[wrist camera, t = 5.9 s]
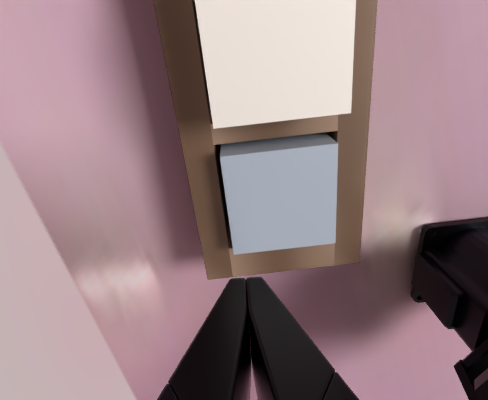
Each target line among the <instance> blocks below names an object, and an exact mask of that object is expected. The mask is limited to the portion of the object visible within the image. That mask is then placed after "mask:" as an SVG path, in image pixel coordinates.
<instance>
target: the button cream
mask: <svg viewBox="0 0 488 400" xmlns="http://www.w3.org/2000/svg"><path fill="white" fill-rule="evenodd" d="M195 5H196V12H197V19H198V26H199V33H200V40H201V46H202V53H203V60H204V67H205V74H206V81H207V88H208V95H209V102H210V108H211V115H212V122H213V129H216V128H225V127H234V126H242V125H251V124H260V123H269V122H278V121H286V120H295V119H304V118H313V117H321V116H330V115H339V114H348V113H351V105H352V82H353V59H354V35H355V12H356V0H195Z"/></svg>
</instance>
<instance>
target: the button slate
mask: <svg viewBox="0 0 488 400" xmlns="http://www.w3.org/2000/svg"><path fill="white" fill-rule="evenodd" d="M220 161H221V168H222V175H223V182H224V189H225V196H226V203H227V210H228V217H229V225H230V232H231V239H232V246H233V253H234V255H236V254H245V253H254V252H262V251H271V250H280V249H289V248H298V247H307V246H315V245H324V244H333V243H336V208H337V171H338V143H337V142H336V141H335V140H334V139H332V138H331V137H330V136H329V135H328V134H326V133H325V132H322V133H314V134H305V135H296V136H287V137H279V138H270V139H261V140H252V141H243V142H235V143H226V144H221V149H220Z"/></svg>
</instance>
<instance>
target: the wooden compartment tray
mask: <svg viewBox="0 0 488 400" xmlns="http://www.w3.org/2000/svg"><path fill="white" fill-rule="evenodd" d="M154 5H155V10H156V15H157V20H158V26H159V31H160V36H161V41H162V46H163V51H164V57H165V62H166V67H167V72H168V77H169V82H170V88H171V93H172V98H173V103H174V108H175V113H176V119H177V124H178V129H179V134H180V139H181V144H182V150H183V155H184V160H185V165H186V170H187V175H188V181H189V186H190V191H191V196H192V201H193V206H194V212H195V217H196V222H197V227H198V232H199V237H200V243H201V248H202V253H203V258H204V263H205V268H206V274H207V279H208V280H210V279H219V278H228V277H237V276H246V275H255V274H263V273H272V272H281V271H290V270H299V269H308V268H316V267H325V266H334V265H343V264H352V263H359V262H360V248H361V233H362V219H363V204H364V189H365V175H366V160H367V145H368V131H369V116H370V101H371V87H372V72H373V58H374V43H375V28H376V14H377V0H356V12H355V35H354V59H353V82H352V105H351V113H348V114H339V115H330V116H321V117H313V118H304V119H295V120H286V121H278V122H269V123H260V124H251V125H242V126H234V127H225V128H216V129H213V122H212V115H211V108H210V102H209V95H208V88H207V81H206V74H205V67H204V60H203V53H202V46H201V40H200V33H199V26H198V19H197V12H196V5H195V0H154ZM322 132H325V133H326V134H328V135H329V136H330V137H331V138H332V139H334V140H335V141H336V142H337V143H338V171H337V208H336V243H333V244H324V245H315V246H307V247H298V248H289V249H280V250H271V251H262V252H254V253H245V254H236V255H234V253H233V246H232V239H231V232H230V225H229V221H228V214H227V207H226V200H225V193H224V186H223V179H222V172H221V165H220V158H219V151H218V144H226V143H235V142H243V141H252V140H261V139H270V138H279V137H287V136H296V135H305V134H314V133H322Z"/></svg>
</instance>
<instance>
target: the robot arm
mask: <svg viewBox="0 0 488 400" xmlns="http://www.w3.org/2000/svg"><path fill="white" fill-rule="evenodd" d="M430 231H432V232H431V233H430V234H428V233H429V232H430ZM246 286H247V287H246ZM411 297H412V298H413V300H414V301H415V302H418V303H420V302H426V303H427V305H428V306H429V307H430V308H431V310H432V311H433V312H434V314H435V315H436V316H437V317H438V319H439V320H440V321H441V322H442V324H443V325H444V326H445V327H446V328H448V329H454V330H455V331H456V332H457V333H458V335H459V336H460V337H461V338H462V340H463V341H464V342H465V343H466V344H467V346H468V347H469V348H470V349H471V351H472V352H471V353H470V354H469V355H468V356H467V357H466V358H464V359H463V360H459V361H458V362H457V363H456V364H455V365H454V368H455V370H456V372H457V375H458V377H459V379H460V381H461V383H462V386H463V388H464V390H465V392H466V394H467V396H468V399H469V400H488V218H481V219H472V220H464V221H455V222H446V223H437V224H429V225H426V226H425V227H423V229H422V231H421V235H420V241H419V247H418V253H417V256H416V259H415V265H414V271H413V277H412V290H411ZM249 332H250V333H249ZM250 346H251V349H250ZM251 359H252V368H253V375H254V380H255V386H256V391H257V397H258V400H359V399H358V398H357V396H356V395H355V394H354V393H353V392H352V390H351V389H350V388H349V387H348V386H347V384H346V383H345V382H344V380H343V379H342V378H341V377H340V375H339V374H338V373H337V372H335V369H334V368H333V367H332V365H331V364H330V363H329V362H328V360H327V359H326V358H325V357H324V355H323V354H322V353H321V351H320V350H319V349H318V348H317V346H316V345H315V344H314V343H313V341H312V340H311V339H310V337H309V336H308V335H307V334H306V332H305V331H304V330H303V329H302V327H301V326H300V325H299V324H298V322H297V321H296V320H295V318H294V317H293V316H292V315H291V313H290V312H289V311H288V310H287V308H286V307H285V306H284V305H283V303H282V302H281V301H280V299H279V298H278V297H277V296H276V294H275V293H274V292H273V291H272V289H271V288H270V287H269V285H268V284H267V283H266V282H265V280H264V279H263V278H262V277H249V278H247V279H245V278H233V279H230V280H229V282H228V283H227V285H226V287H225V288H224V290H223V292H222V293H221V295H220V297H219V298H218V300H217V302H216V303H215V305H214V307H213V308H212V310H211V312H210V313H209V315H208V317H207V318H206V320H205V322H204V323H203V325H202V326H201V328H200V330H199V331H198V333H197V335H196V336H195V338H194V340H193V341H192V343H191V345H190V346H189V348H188V350H187V351H186V353H185V355H184V356H183V358H182V360H181V361H180V363H179V365H178V366H177V368H176V369H175V371H174V373H173V374H172V376H171V378H170V379H169V381H168V383H169V384H167V385H166V386H165V387H164V389H163V391H162V392H161V394H160V396H159V397H158V399H157V400H250V386H251Z"/></svg>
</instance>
